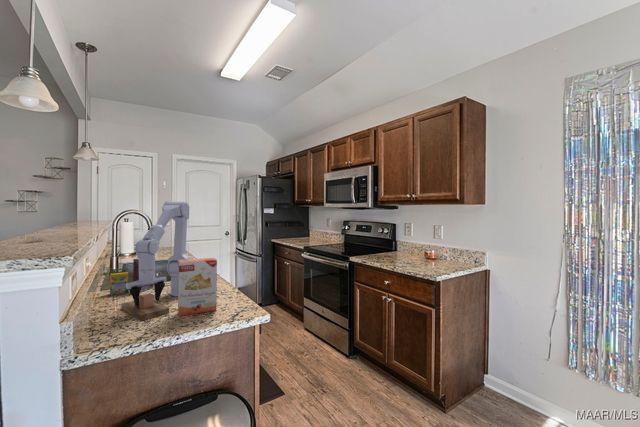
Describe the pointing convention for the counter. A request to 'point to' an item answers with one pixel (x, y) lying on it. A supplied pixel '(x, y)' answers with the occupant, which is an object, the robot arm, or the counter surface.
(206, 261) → the cracker box
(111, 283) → the crayon box
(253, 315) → the counter surface
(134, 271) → the supplement box
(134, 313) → the notched board
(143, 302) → the terracotta plug
